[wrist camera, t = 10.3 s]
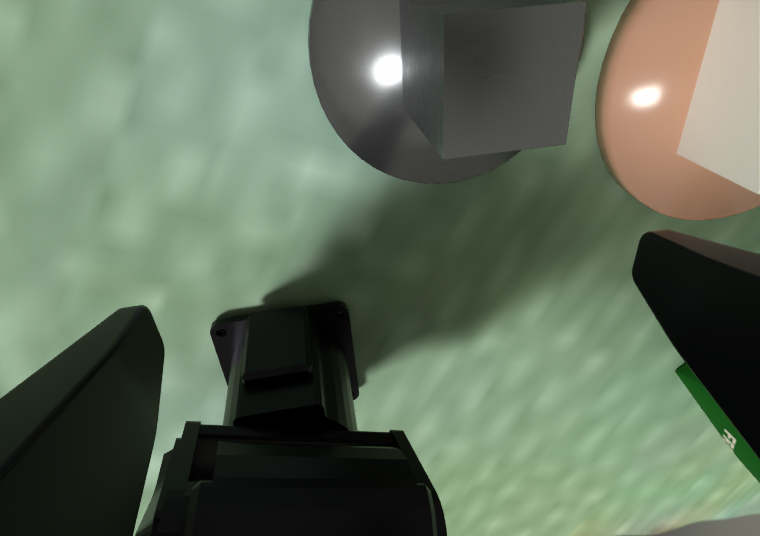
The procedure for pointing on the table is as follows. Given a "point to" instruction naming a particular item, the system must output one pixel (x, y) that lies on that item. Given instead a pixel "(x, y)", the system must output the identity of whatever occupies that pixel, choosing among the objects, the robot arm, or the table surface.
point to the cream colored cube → (728, 98)
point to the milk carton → (720, 421)
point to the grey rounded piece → (445, 80)
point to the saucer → (660, 110)
